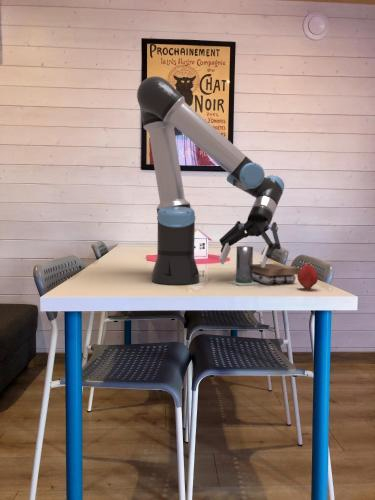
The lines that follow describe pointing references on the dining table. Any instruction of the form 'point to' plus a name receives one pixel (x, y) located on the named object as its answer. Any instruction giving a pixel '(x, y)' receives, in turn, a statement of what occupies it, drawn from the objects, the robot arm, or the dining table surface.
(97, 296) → the dining table surface
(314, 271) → the red strawberry
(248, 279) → the steel roller
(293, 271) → the slab
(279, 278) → the roller track
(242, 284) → the stop pad
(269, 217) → the robot arm
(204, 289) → the dining table surface
